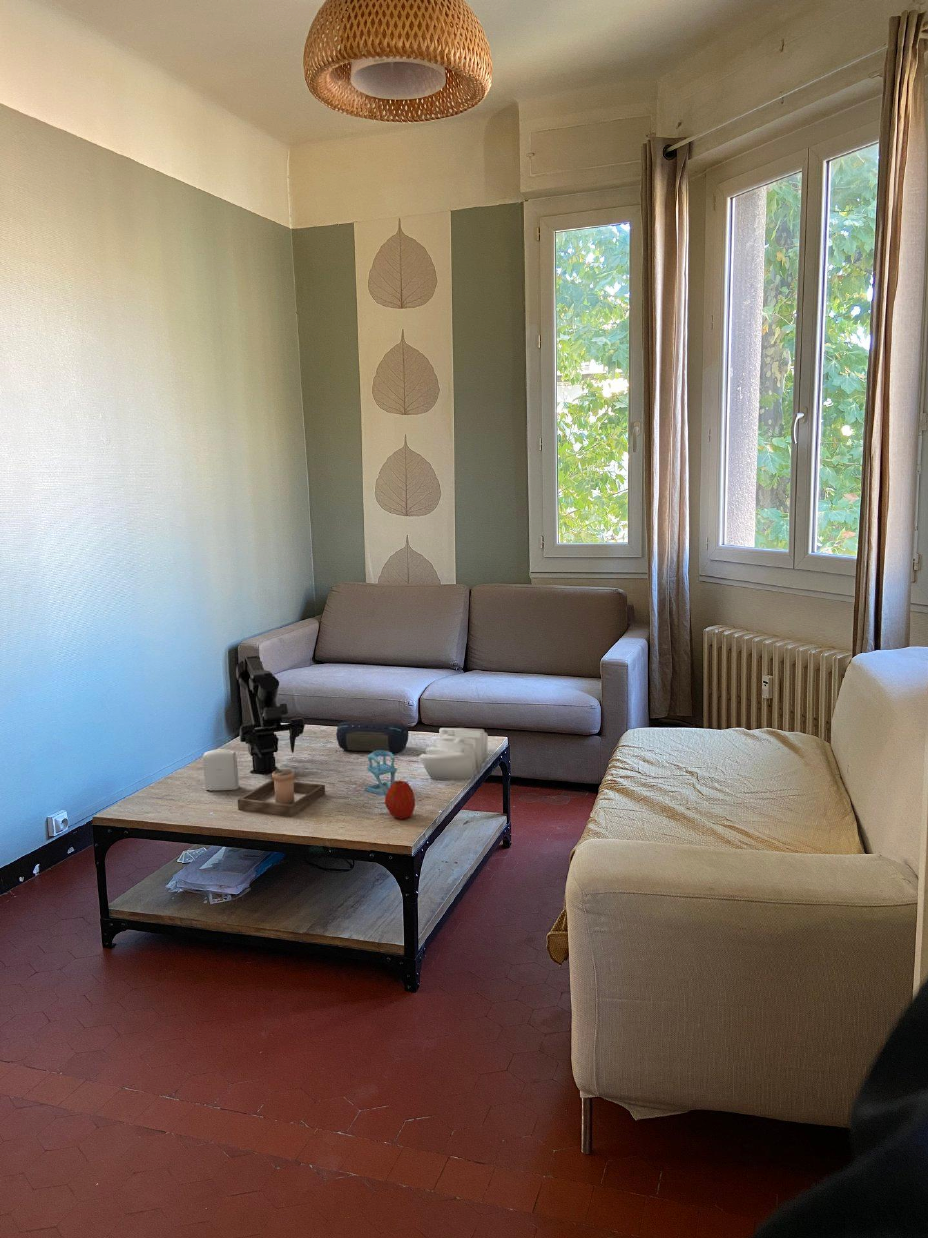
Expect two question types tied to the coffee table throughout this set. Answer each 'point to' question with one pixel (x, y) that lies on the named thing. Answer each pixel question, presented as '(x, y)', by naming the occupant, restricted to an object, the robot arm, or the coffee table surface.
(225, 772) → the photo printer
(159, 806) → the coffee table surface
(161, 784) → the coffee table surface
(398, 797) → the apple
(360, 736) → the portable speaker
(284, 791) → the terracotta pot
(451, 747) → the white wavy slab sculpture
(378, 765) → the chair
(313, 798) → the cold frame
